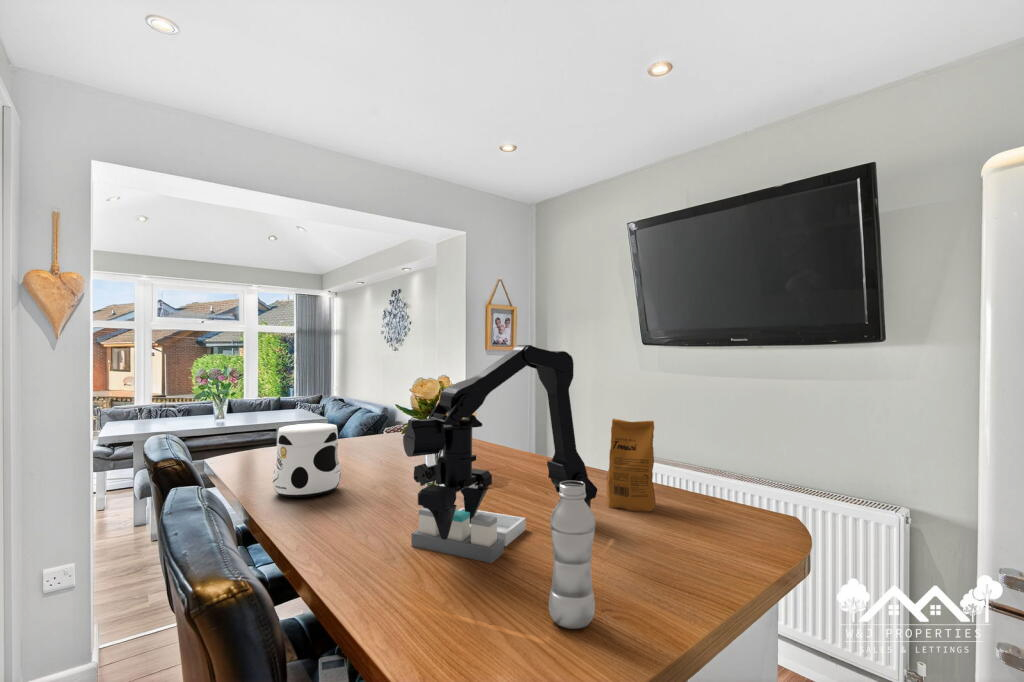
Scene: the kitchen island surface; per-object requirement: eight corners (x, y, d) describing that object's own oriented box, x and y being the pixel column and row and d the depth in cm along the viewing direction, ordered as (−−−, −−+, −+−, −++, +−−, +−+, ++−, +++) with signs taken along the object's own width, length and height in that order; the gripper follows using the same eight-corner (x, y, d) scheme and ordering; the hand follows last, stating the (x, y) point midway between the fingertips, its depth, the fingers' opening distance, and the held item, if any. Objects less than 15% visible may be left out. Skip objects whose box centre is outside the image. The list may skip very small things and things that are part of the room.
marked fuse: (469, 548, 95) (469, 512, 95) (461, 553, 92) (461, 517, 92) (452, 544, 96) (452, 509, 97) (443, 550, 94) (444, 513, 94)
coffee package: (610, 497, 131) (610, 415, 131) (657, 503, 126) (657, 418, 126) (602, 507, 121) (602, 420, 122) (653, 514, 116) (652, 423, 117)
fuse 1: (443, 542, 97) (444, 508, 97) (435, 548, 95) (435, 512, 95) (427, 539, 99) (427, 505, 99) (418, 544, 96) (418, 509, 96)
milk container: (259, 494, 131) (260, 428, 131) (317, 481, 145) (318, 421, 146) (295, 506, 121) (296, 434, 122) (353, 490, 135) (354, 426, 136)
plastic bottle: (547, 610, 73) (547, 477, 74) (592, 611, 73) (592, 478, 73) (549, 635, 67) (549, 489, 67) (598, 636, 66) (598, 490, 67)
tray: (525, 531, 105) (525, 517, 105) (505, 548, 96) (505, 533, 96) (462, 520, 112) (462, 507, 112) (438, 535, 103) (438, 521, 103)
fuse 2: (496, 553, 92) (496, 516, 92) (489, 559, 89) (489, 521, 90) (478, 550, 94) (478, 513, 94) (470, 555, 91) (471, 518, 91)
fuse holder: (503, 555, 93) (503, 539, 93) (491, 565, 88) (491, 549, 88) (426, 539, 100) (426, 524, 100) (411, 548, 96) (411, 533, 96)
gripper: (448, 439, 107) (447, 510, 106) (394, 456, 90) (393, 540, 89) (493, 444, 102) (492, 518, 101) (444, 462, 85) (444, 551, 85)
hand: (457, 530), depth 94 cm, fingers open, 9 cm apart
